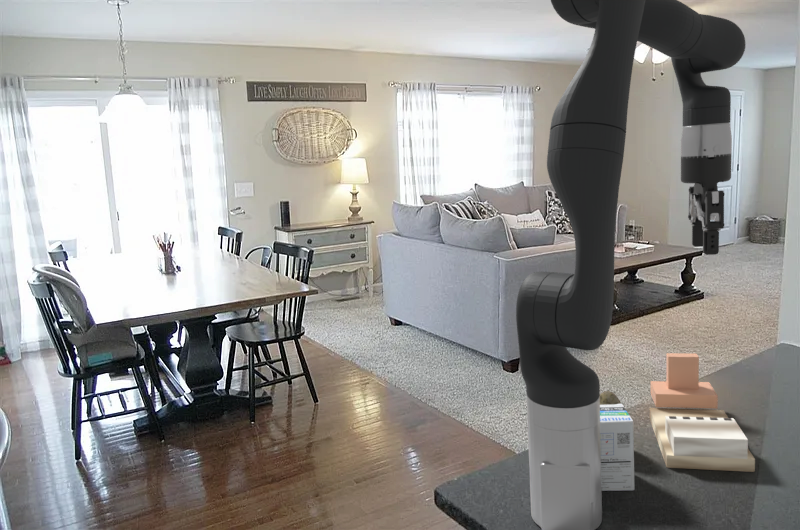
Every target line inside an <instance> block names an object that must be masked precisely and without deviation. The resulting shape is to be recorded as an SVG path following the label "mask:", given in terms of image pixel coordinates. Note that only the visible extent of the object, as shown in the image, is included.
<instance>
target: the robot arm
mask: <svg viewBox="0 0 800 530" xmlns="http://www.w3.org/2000/svg"><path fill="white" fill-rule="evenodd" d="M550 2H551V5H552V7H553V9H554V11H555V12H556V14H557V15H558V17H560V18H561V19H563V20H564V21H565V22H567V23H569V24H570V25H571V24H572V25H575V26H579V27H585V28H588V29H593V30H594V33H593V38H592V41H591V44H590V45H589V46H590V47H589V49H588V50H587V54H586V56H585V58H584V59H583V62H582V63H581V65H580V67H578V70H577V71H576V72H575V74H574V76H573V78H572V79H571V80H570V83H569V84H568V85H567V87H566V88H565V91H564V92H563V93H562V96H561V97H560V98H559V101H558V102H557V105H556V107H555V109H554V110H553V111H554V112H553V114H552V117H551V123H550V128H549V136H548V137H549V139H548V148H547V155H546V157H547V158H546V168H547V174H548V177H549V180H550V183H551V185H552V188H553V190H554V192H555V193H556V196H557V199H558V200H559V202H560V204H561V206H562V208H563V209H564V212H565V215H566V216H567V219H568V221H569V223H570V226H571V229H572V232H573V237H574V243H575V244H574V245H575V247H574V248H575V263H574V264H575V265H574V266H575V267H574V273H568V272H567V273H566V272H555V271H543V270H542V271H534V272H532V273H530V274H528V275H527V276H526V277H525V279H523V280H522V282H521V285H520V287H519V289H518V293H517V297H516V304H515V306H516V307H515V320H516V332H517V340H518V351H519V352H518V353H519V365H520V372H521V376H522V378H523V381H524V383H525V389H526V390H525V391H526V393H525V394H526V415H527V416H526V419H527V420H526V421H527V441H528V442H527V444H528V464H529V465H528V466H529V467H528V470H529V491H530V515H531V518H532V520H533V521H534V522H535V524H536V525H537V526H538V527H540V528H541V530H596V529H598V528H599V526H600V525H601V524H602V522H603V506H602V504H603V503H602V502H603V500H602V497H603V495H602V491H601V446H600V394H601V393H600V392H601V391H600V388H601V387H600V385H601V384H600V379H599V376H598V374H597V373H596V372H595V370H594V369H592V368H591V367H590V366H588V365H586V364H585V363H583V362H582V361H581V360H578V358H576V357H575V356H574V355H572V353H571V352H570V351H569V350H568V348H569V349H570V348H571V349H576V350H582V351H595V350H597V349H599V348H600V347H601V346H602V345H603V344H604V343H605V341H606V339H607V336H608V335H609V332H610V328H611V324H612V319H613V311H614V310H613V309H614V295H615V294H614V293H615V291H614V290H615V289H614V288H615V241H616V240H615V239H616V238H615V237H616V223H617V221H616V220H617V210H618V201H619V191H620V184H621V176H622V169H623V163H624V157H625V156H624V155H625V145H626V138H627V137H626V135H627V124H628V123H627V122H628V110H629V109H628V108H629V99H630V89H631V82H632V81H631V80H632V73H633V67H634V66H633V65H634V59H635V54H636V49H637V43H638V42H639V43H642V44H644V45H645V46H648V47H650V48H651V49H654V50H655V51H658V52H659V53H661V54H662V55H663V54H664V55H665V56H667V57H669V58H671V59H670V60H671V63H672V67H673V72H674V74H675V77H676V81H677V85H678V88H679V92H680V97H681V101H682V133H681V139H680V182H681V183H683V184H693V186H689V188H688V216H687V218H688V220H689V222H690V225H691V245H692V246H693V247H696V248H697V247H699V248H700V247H702V252H703V254H704V255H706V256H710V255H713V256H714V255H715V256H716V255H718V254H719V252H720V250H719V249H720V240H719V239H720V232H721V230H723V229H724V228H725V192H724V190H718V189H719V188H718V184H719V183H725V182H728V181H730V180H731V179H732V157H733V155H732V146H733V140H732V139H733V138H732V136H733V135H732V130H731V129H732V128H731V112H732V111H731V110H732V108H731V105H732V104H731V101H732V99H731V92H730V89H728V88H727V87H725V86H719V85H707V84H706V83H705V82H704V80H703V78H702V74H703V73H709V72H716V71H723V70H726V69H729V68H732V67H734V66H736V65H737V64H738V62H740V60H741V59H742V57H743V56H744V53H745V50H746V38H745V35H744V33H743V31H742V29H741V28H740V27H739V25H738V24H736V23H735V22H734V21H732V20H730V19H727V18H723V17H720V16H714V15H709V14H704V13H703V14H702V13H698V12H697V11H696V10H695V9H693V8H691V7H690V6H688V5H687V4H685V3H683V2H682V1H680V0H550Z"/></svg>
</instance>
